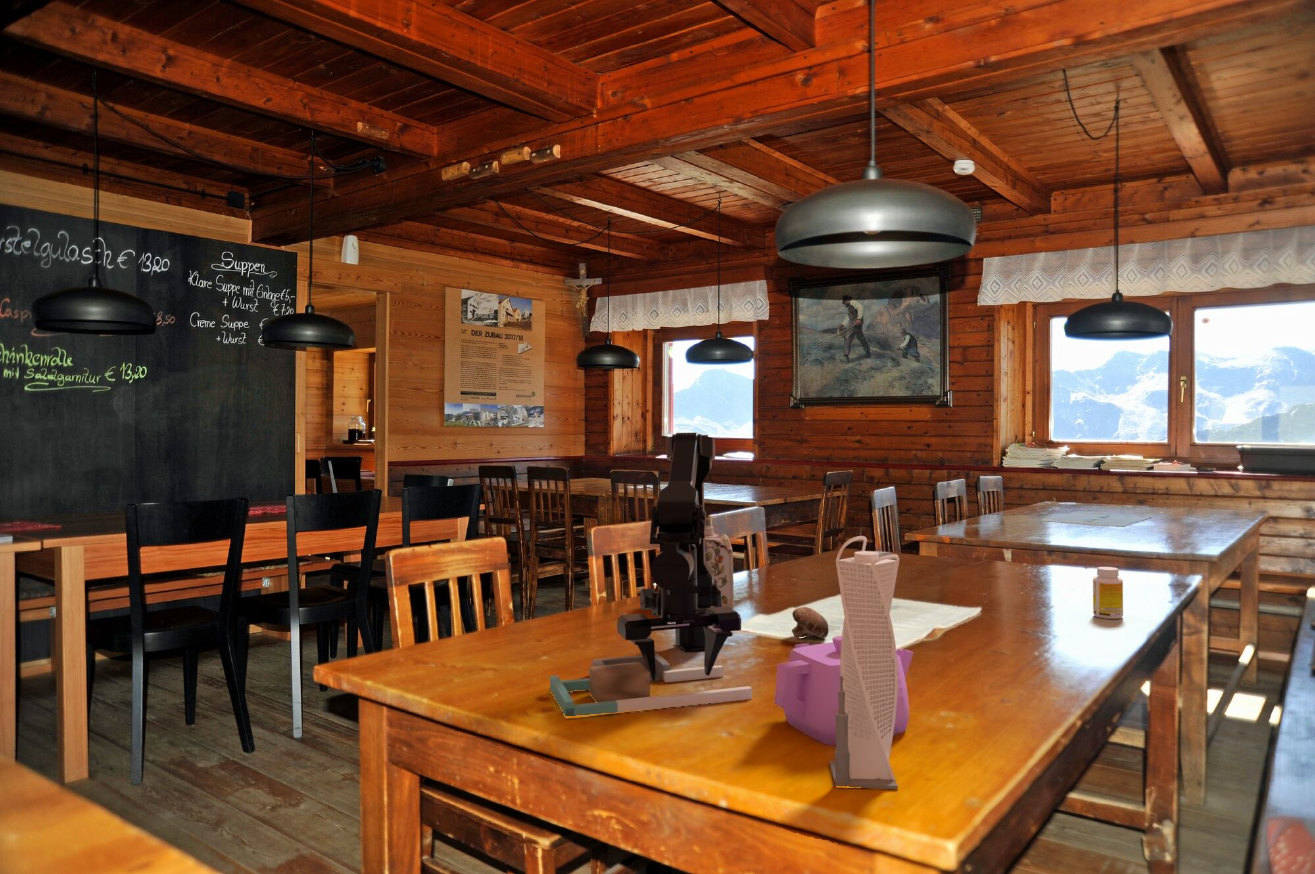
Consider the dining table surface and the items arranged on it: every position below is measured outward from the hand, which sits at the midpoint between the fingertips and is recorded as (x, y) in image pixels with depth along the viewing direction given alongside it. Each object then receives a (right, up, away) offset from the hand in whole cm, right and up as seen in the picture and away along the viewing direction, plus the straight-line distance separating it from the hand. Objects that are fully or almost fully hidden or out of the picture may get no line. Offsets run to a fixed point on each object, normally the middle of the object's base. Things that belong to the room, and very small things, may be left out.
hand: (680, 677), depth 136 cm
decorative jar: (+7, -1, +65) cm, 65 cm away
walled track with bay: (-6, -2, +2) cm, 7 cm away
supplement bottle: (+91, 0, +47) cm, 102 cm away
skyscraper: (+21, -3, -32) cm, 39 cm away
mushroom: (+26, -2, +33) cm, 42 cm away
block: (-9, -3, -2) cm, 10 cm away
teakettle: (+23, -3, -15) cm, 27 cm away
